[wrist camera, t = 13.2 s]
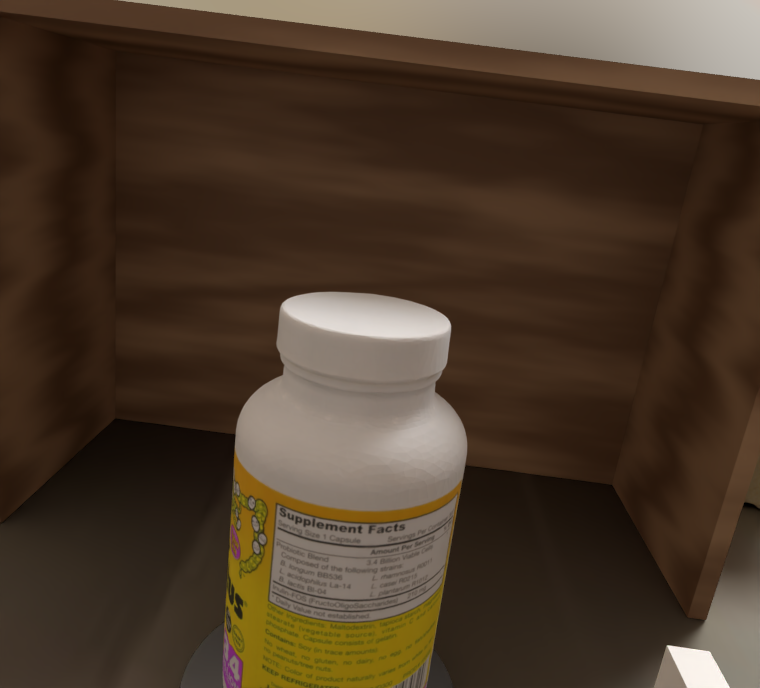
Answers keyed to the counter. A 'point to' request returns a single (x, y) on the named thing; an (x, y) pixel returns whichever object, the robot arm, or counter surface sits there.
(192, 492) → the counter surface
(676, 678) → the robot arm
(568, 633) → the counter surface
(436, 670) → the coaster
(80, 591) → the counter surface
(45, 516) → the counter surface
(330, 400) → the supplement bottle
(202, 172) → the cubby
